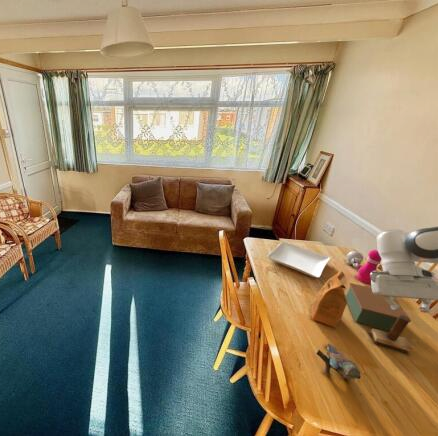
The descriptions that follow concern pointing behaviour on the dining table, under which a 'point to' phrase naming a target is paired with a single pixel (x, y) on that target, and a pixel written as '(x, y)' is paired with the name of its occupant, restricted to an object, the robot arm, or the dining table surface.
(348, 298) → the cabinet
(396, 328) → the brush
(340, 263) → the dining table surface
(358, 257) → the round bodied animal figurine
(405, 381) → the dining table surface
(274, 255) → the square plate
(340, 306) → the coffee package
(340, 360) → the bird figurine
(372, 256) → the pepper mill
